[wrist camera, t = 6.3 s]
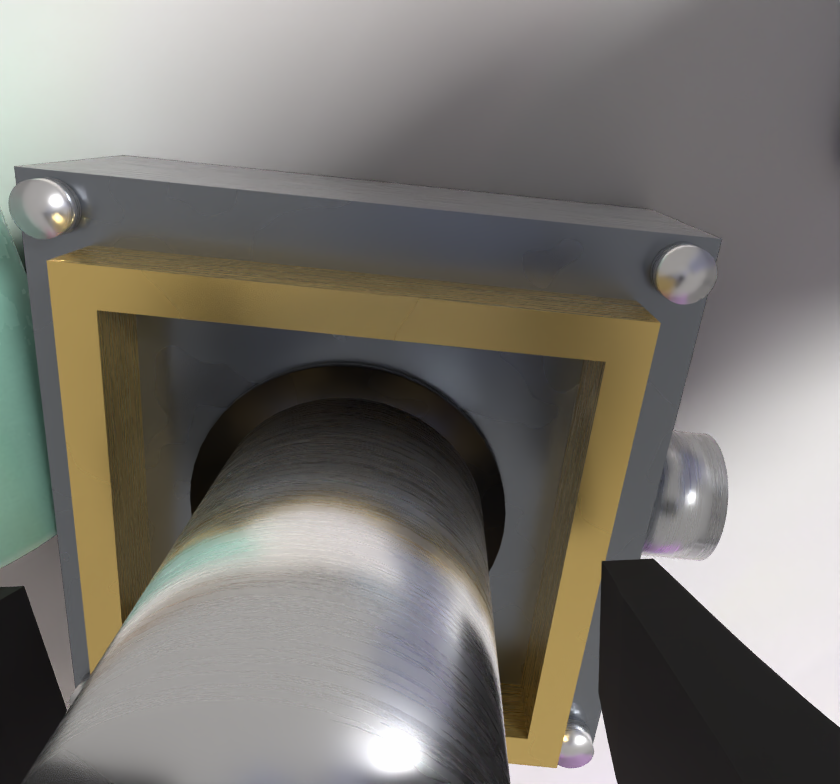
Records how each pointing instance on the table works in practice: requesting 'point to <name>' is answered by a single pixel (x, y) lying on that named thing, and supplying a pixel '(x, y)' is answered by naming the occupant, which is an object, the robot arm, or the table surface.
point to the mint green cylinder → (20, 418)
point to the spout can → (307, 623)
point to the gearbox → (373, 380)
